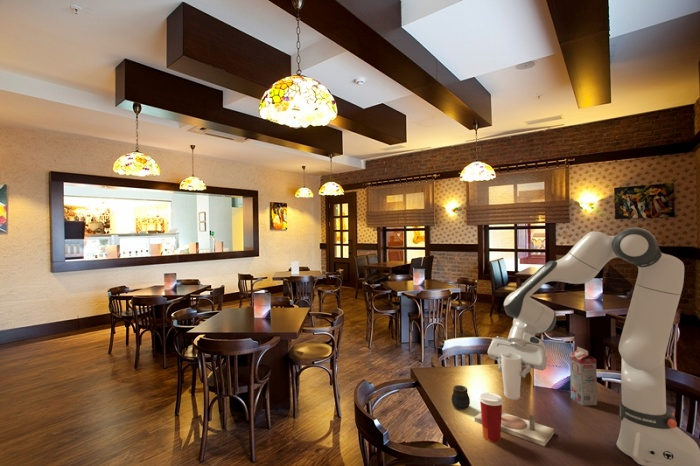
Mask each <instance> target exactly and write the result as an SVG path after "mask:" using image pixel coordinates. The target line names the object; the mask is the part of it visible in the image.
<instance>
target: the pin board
mask: <svg viewBox="0 0 700 466" xmlns="http://www.w3.org/2000/svg"><path fill="white" fill-rule="evenodd" d="M474 421H475V422H476V423H478V424H481V425H482V417H481V411H480V412H479V413H478V414H476V415H475V416H474ZM501 432H504V433H506V434H509V435H512V436H515V437H518V438H521V439H523V440H525V441H529V442H531V443H535V444H537V445H540V446H542V447H546V445H547V443H548V442H549V441H550V439H551V438H552V437H553V435H555V428H553V427H550V426H546V425H544V424H540V423H537V422H535V416H534V415H532V414H531V415H529V419H524V418H522V417H520V416H516V415H512V414H509V413H506V412H503V411H502V417H501Z"/></svg>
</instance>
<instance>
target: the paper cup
mask: <svg viewBox="0 0 700 466" xmlns="http://www.w3.org/2000/svg"><path fill="white" fill-rule="evenodd" d="M478 400H479V402H480V412H481V417H482V424H481V427H482V428H481V429H482V436H483V438H484V440H486V441H489V442H492V443H496V442H500V441H501V437H502V431H501V417H502V412H503V409H502V408H503V403H504V401H503V399H502V396H501V395H499V394H497V393H494V392H483V393H481V394H480V396H479V397H478Z"/></svg>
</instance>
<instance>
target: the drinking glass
mask: <svg viewBox="0 0 700 466" xmlns="http://www.w3.org/2000/svg"><path fill="white" fill-rule="evenodd" d="M508 355H516V356H518V357H519V359H509V358H506V357H507V356H508ZM501 367H502V372H501V374H502V384H503V395H504V397H506V398H507V399H509V400H513V401H515V400H520V398H521V384H522V383H521V382H522V380H521V379H522V377H521V376H520V373H521V370H522V367H523V366H522V363H521V356H519V355H517V354H513V353H504V354H502V355H501Z"/></svg>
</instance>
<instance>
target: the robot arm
mask: <svg viewBox="0 0 700 466" xmlns="http://www.w3.org/2000/svg"><path fill="white" fill-rule="evenodd" d="M615 258H620V259H622V260H624V261H625V262H628V263H630V264H632V265H635V266H636V267H637V268H638V269H637V271H638V273H637V277H636V281H635V285H634V287H633V288H634V289H633V292H632V297H631V299H630V304H629V307H628V310H627V313H626V318H625V321H624V325H623V329H622V332H621V335H620V339H619V343H618V352H619V354H620V356H621V373H620V374H621V375H620V384H621V386H620V387H621V389H620V391H621V401H620V403H619V416H620V420H621V421H620V422H621V423H620V428H619V435H618V438H617V441H616V446H617V448H618V449H619V450H620V451H621V452H623V453H624V454H625V455H627V456H629V457H631V458H632V460H634V462H636V463H637V464H638V465H641V466H700V447H699V446H698V443H697V442H696V440H694V439H693V438H692V437H691V436H689V435H688V434H687V433H685V432H684V431H682V429H680V428H679V427H677V421H676V417H675V414H674V413H673V412H672V413H670V412H669V411H668V410H667V392H666V391H667V390H666V364H665V363H666V362H665V359H666V358H665V357H666V353H667V349H668V345H669V341H670V336H671V332H672V329H673V325H674V321H675V317H676V312H677V309H678V306H679V302H680V298H681V296H682V291H683V288H684V282H685V281H684V279H685V265H684V262H683V261H682V260H680V259H679V258H678V257H676V256H673V255H671V254H667V253H663V252H662V251H661V249H660V247H659V244H658V242H657V239H656V237H655V236H654V235H653V234H652V233H651V232H650V231H649V230H646V229H644V228H642V227H641V228H640V227H629V228H625V229H623V230H622V231H620V232H618V234H614V235H609V234H606V233H605V232H601V231H590V232H588V233H586V234H584V236H583V237H581V238H580V239H579V240H578V241H577V242H576V243H575V244H574V245H573V246H572V247H571V249H570V250H569V251H568V252H567V253H566V254H565V255H564V256H563V257H561V258H560V259H556V260H550V261H548V262H546V263H545V264H543V265H542V266H541V267H540V268H539V269H538V270H536V271H535V272H534V273H533V274H532V275H531V276H530V277H528V278H527V279H526V280H525V281H524V282H523V283H522V284H520V286H518V288H516V289H514V290H513V291H512V292H510V293H509V294H508V295H507V296H506V297H505V299H504V301H503V308H504V311H505V314H506V315H507V316H509V317H511V318H513V320H512V325H511V328H510V329H509V333H508V336H507V337H501V336H496V337H493V338H492V339H491V342H490V344H489V347H488V349H487V354H488V355H487V356H488V357H489V358H490V359H492V360H495V361H497V364H498V366H497V367H498V368H497V370H498V372H501V373H502V367H501V355H502V354H504V353H513V354H517V355H519V356H521V363H522V367H525V368H524V369H523V370H522V369H521V373H520V376H521V378H525V379H526V376H527V374H528V373H530V372H531V370H532V369H534V370H539V371H544V370H545V369H546V368H547V362H548V357H547V354H546V353H547V347H546V345H545V344H546V343H544V341H543V340H542V339H540V338H538V337H536V334H544V333H549V332H551V331H552V330H553V329H554V328H555V326H556V323H557V314H556V312H555V311H554V310H553V309H552V308H550V307H549V306H547V305H546V304H544V303H541V302H539V301H537V300H536V299H533V298H532V297H531V296H532V295H533V294H534V293H536V292H537V291H538V290H539V289H540V288H541V287H542V286H543V285H545V284H546V283H548V282H561V283H566V284H567V283H568V284H574V285H579V284H580V285H581V284H586V283H589V282H591V281H592V280H593V279H594V278H595V277H596V276H597V275H598V274H599V273H600V271H601V270H602V269H603V268H604V267H605V266H606V265H607V263H608V262H610V261H611V260H612V259H615ZM506 358H509V359H519V357H518V356H516V355H508V356H507V357H506Z"/></svg>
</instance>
